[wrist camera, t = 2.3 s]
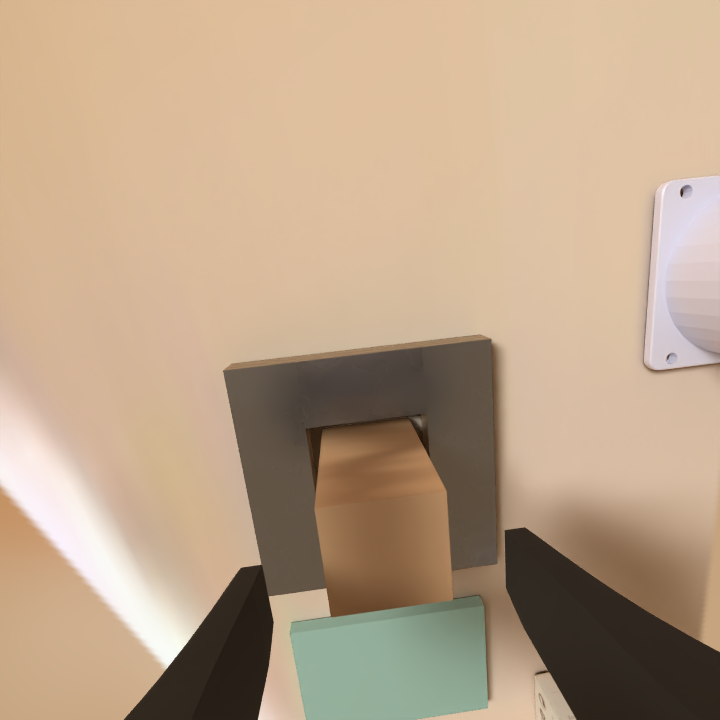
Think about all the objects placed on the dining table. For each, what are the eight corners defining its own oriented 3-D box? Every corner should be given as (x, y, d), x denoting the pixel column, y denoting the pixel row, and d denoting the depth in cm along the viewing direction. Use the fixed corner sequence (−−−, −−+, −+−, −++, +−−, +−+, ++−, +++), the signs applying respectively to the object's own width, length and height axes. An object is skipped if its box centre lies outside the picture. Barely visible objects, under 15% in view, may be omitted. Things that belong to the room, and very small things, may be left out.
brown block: (408, 417, 17) (446, 490, 11) (414, 493, 18) (453, 600, 12) (322, 427, 16) (314, 508, 11) (333, 504, 17) (331, 617, 12)
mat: (479, 595, 19) (484, 605, 18) (483, 696, 21) (487, 708, 20) (291, 622, 19) (290, 633, 18) (309, 723, 20) (309, 736, 20)
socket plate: (480, 334, 16) (491, 338, 15) (487, 545, 18) (497, 563, 17) (231, 363, 16) (222, 370, 14) (272, 575, 18) (268, 596, 17)
